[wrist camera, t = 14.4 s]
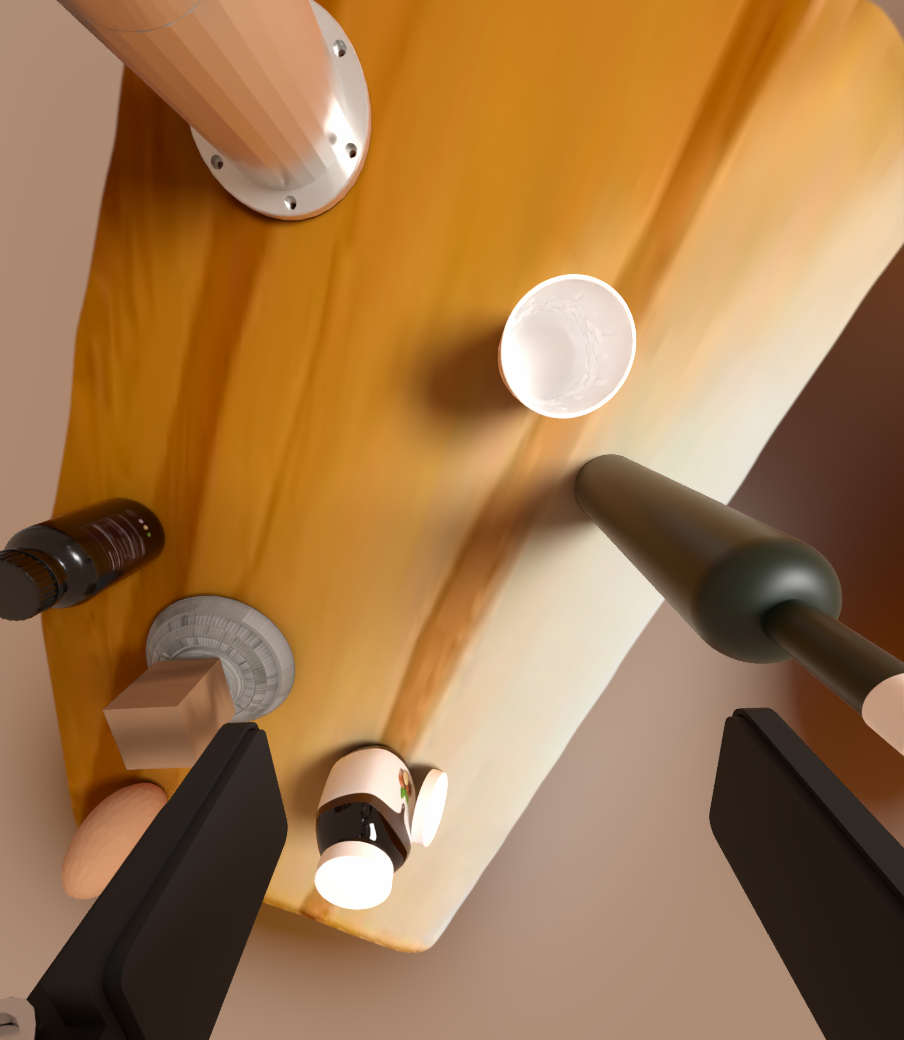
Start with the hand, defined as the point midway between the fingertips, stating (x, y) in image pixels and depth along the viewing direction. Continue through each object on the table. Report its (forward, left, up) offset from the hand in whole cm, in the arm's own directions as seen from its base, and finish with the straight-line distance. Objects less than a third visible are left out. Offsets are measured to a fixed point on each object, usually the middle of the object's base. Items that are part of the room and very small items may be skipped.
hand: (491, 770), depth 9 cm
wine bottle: (+2, +12, -31) cm, 33 cm away
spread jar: (+34, -10, -31) cm, 47 cm away
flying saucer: (+18, -26, -31) cm, 44 cm away
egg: (+36, -39, -31) cm, 61 cm away
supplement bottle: (+4, -32, -31) cm, 44 cm away
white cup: (-9, +6, -31) cm, 32 cm away
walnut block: (+18, -26, -25) cm, 41 cm away
